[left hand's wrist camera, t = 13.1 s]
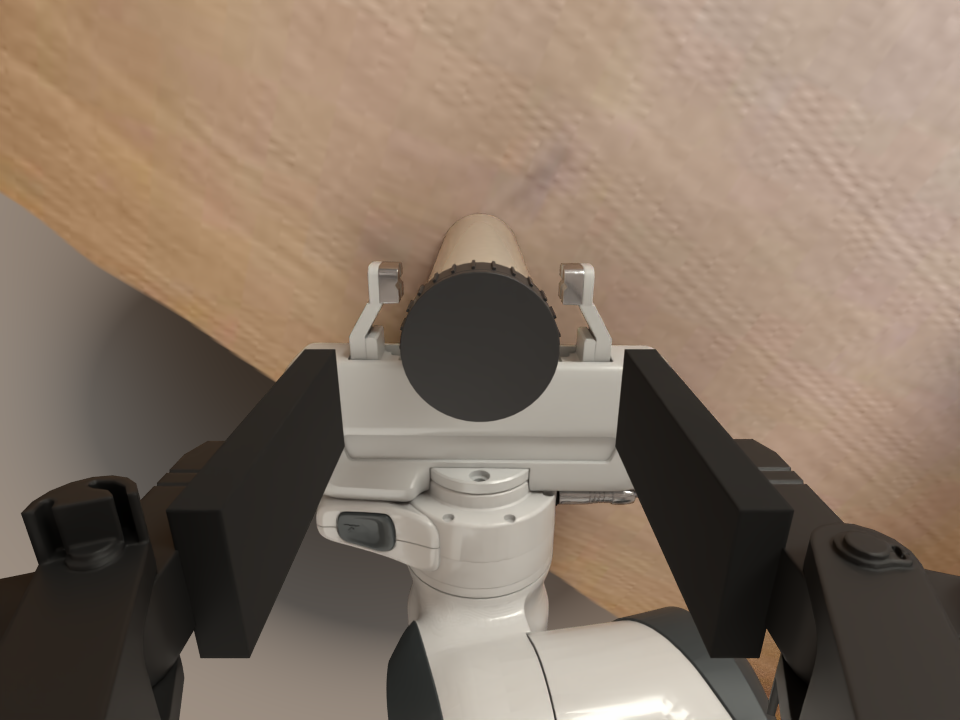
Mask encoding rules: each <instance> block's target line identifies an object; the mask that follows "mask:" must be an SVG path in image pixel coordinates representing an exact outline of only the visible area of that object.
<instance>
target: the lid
mask: <svg viewBox="0 0 960 720" xmlns="http://www.w3.org/2000/svg"><path fill="white" fill-rule="evenodd" d="M406 312H408V315H407V317H406V318H405V319H404V321H403V323H402V326H401V329H400V330H402V333H401V340H400V346H399V349H400V354H401V360H402V365H403V368H404V371H405V374H406V376H407V378H408V380H409V382H410V384H411V386H412V387H413V388H414V390H415V391H416V393H417V394H418V395H419V396H420V397H421V398H422V399H423V400H424V401H425V402H426V403H428V404H429V405H430V406H431V407H433V408H434V409H436V410H437V411H439V412H441V413H443V414H445V415H447V416H450V417H453V418H455V419H459V420H464V421H470V422H490V421H497V420H501V419H505V418H507V417H510V416H513V415H515V414H517V413H519V412H521V411H523V410H524V409H526V408H527V407H529V406H530V405H531V404H533V403H534V402H535V401H536V400H537V399H538V398H539V397H540V396H541V395H542V394H543V392H544V391H545V390H546V388H547V387H548V385H549V384H550V382H551V380H552V378H553V376H554V374H555V371H556V368H557V365H558V360H559V356H560V340H559V337H561V336H560V332H559V330H558V327H557V325H556V322H555V320H554V319H555V318H556V315H555V313H554V311H553V308H552V306H551V307H549V306H548V303H547V298H546V296H545V294H544V292H543V290H541V291H539V289H538V288H537V287H536V286H535V285H534V284H533V282H532V280H531V278H530V277H529V276H528V277H527V278H526V277H525V276H524V275H522V274H520V273H519V272H517V271H515V268H514V267H512V266H511V268H508V267H506V266H503V265H499V264H496V263H495V261H492V263H488V262H475V260H472V263H465V264H461V265H457V266H456V264H453V265H452V268H449V269H447V270H445V271H443V272H441V273H440V274H438V272H437V273H435V275H434V277H433V279H431V280H430V281H429V282H428V283H427V284H426V285H425V286H423V285H422V286H421V287H420V289H419V291H418V294H417V296H416V298H415V300H414V301H412V300H411V302H410V304H409V306H408V308H407V311H406Z"/></svg>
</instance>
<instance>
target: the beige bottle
mask: <svg viewBox="0 0 960 720" xmlns="http://www.w3.org/2000/svg"><path fill="white" fill-rule="evenodd" d="M472 260H475V262H488V263H492V261H495V263H496V264H499V265H503V266H506V267H508V268H511V266H512V267H514V268H515V271H517V272H519V273H520V274H522V275H524V276H525V277H526V278H527V277H528V276H529V277H530V274H529V272H528V269H527V267H526V264H525V261H524V259H523V256H522V254H521V251H520V248H519V246H518V243H517V241H516V238H515V236H514V234H513V232H512V230H511V229H510V228H509V227H508V226H507V225H506V224H505V223H504V222H503V221H502V220H500V219H498V218H497V217H494V216H491V215H488V214H472V215H469V216H466V217H464V218H462V219H460V220H458V221H457V222H456V223H455V224H453V226H452V227H451V228H450V229H449V230H448V232H447V234H446V236H445V238H444V241H443V243H442V246H441V248H440V251H439V254H438V256H437V259H436V261H435V264H434V266H433V269H432V272H431V274H430V277H429V279H428V282H429V281H430V280H431V279H433V277H434V275H435V273H437V272H438V274H440V273H441V272H443V271H445V270H447V269H449V268H452V265H453V264H456V266H457V265H461V264H465V263H472ZM530 278H531V277H530ZM531 280H532V279H531ZM428 282H427V283H428Z"/></svg>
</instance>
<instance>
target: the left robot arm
mask: <svg viewBox="0 0 960 720" xmlns="http://www.w3.org/2000/svg"><path fill="white" fill-rule="evenodd" d="M344 447H345V443H344V432H343V422H342V412H341V401H340V391H339V381H338V371H337V360H336V350H335V349H304V350H303V352H302V353H301V354H300V355H299V356H298V357H297V359H296V360H295V361H294V362H293V363H292V364H291V366H290V367H289V368H288V369H287V370H286V371H285V372H284V374H283V375H282V376H281V377H280V378H279V379H278V381H277V382H276V383H275V384H274V385H273V386H272V388H271V389H270V390H269V391H268V392H267V393H266V394H265V396H264V397H263V398H262V399H261V400H260V401H259V403H258V404H257V405H256V406H255V407H254V408H253V410H252V411H251V412H250V413H249V414H248V415H247V417H246V418H245V419H244V420H243V421H242V422H241V423H240V425H239V426H238V427H237V428H236V429H235V430H234V431H233V433H232V434H231V435H230V436H229V437H228V438H227V440H226V441H207V442H205V443H203V444H202V445H200V446H198V447H196V448H195V449H193V450H191V451H190V452H188V453H186V454H184V456H182V458H181V459H180V460H179V461H178V462H177V463H176V464H175V465H174V466H173V467H172V468H171V469H170V472H169V473H166V474H165V475H164V476H163V477H162V478H161V479H160V480H159V482H158V483H157V486H154V487H153V488H152V489H151V490H150V491H149V492H148V493H147V494H146V495H145V496H144V497H143V498H142V499H141V500H140V497H139V493H138V489H137V485H136V483H135V482H133V481H132V480H130V479H129V478H127V477H120V476H113V475H112V476H100V477H91V478H87V479H83V480H79V481H75V482H71V483H69V484H66V485H64V486H61V487H59V488H56V489H54V490H51V491H49V492H47V493H46V494H44V495H42V496H41V497H39V498H38V499H36V500H34V501H33V502H32V503H31V504H30V505H29V506H28V507H27V508H26V509H25V510H24V511H23V512H22V513H21V515H22V518H23V521H24V523H25V526H26V529H27V532H28V535H29V538H30V541H31V544H32V546H33V549H34V552H35V555H36V558H37V561H38V564H39V565H38V567H37V569H36V571H35V572H33V573H28V574H23V575H18V576H13V577H8V578H3V579H0V720H179V716H180V708H181V700H182V692H183V684H184V673H183V666H182V662H181V658H180V653H181V651H182V649H183V648H184V646H185V644H186V643H187V641H188V639H189V638H190V636H191V634H192V633H193V631H194V632H195V637H196V641H197V645H198V649H199V654H200V658H250V656H251V654H252V652H253V649H254V647H255V645H256V643H257V640H258V638H259V636H260V634H261V631H262V629H263V627H264V625H265V623H266V620H267V618H268V616H269V614H270V612H271V609H272V607H273V605H274V603H275V600H276V598H277V596H278V594H279V592H280V589H281V587H282V585H283V583H284V580H285V578H286V576H287V574H288V572H289V569H290V567H291V565H292V563H293V560H294V558H295V556H296V554H297V552H298V549H299V547H300V545H301V543H302V540H303V538H304V536H305V534H306V532H307V529H308V527H309V525H310V523H311V520H312V518H313V516H314V514H315V512H316V509H317V507H318V505H319V503H320V501H321V498H322V496H323V494H324V492H325V489H326V487H327V485H328V483H329V481H330V478H331V476H332V474H333V472H334V469H335V467H336V465H337V463H338V461H339V458H340V456H341V454H342V452H343V449H344ZM615 447H616V449H617V452H618V454H619V456H620V458H621V461H622V463H623V465H624V467H625V469H626V472H627V474H628V476H629V478H630V481H631V483H632V485H633V487H634V489H635V492H636V494H637V496H638V498H639V501H640V503H641V505H642V507H643V509H644V512H645V514H646V516H647V518H648V521H649V523H650V525H651V527H652V529H653V532H654V534H655V536H656V538H657V540H658V543H659V545H660V547H661V549H662V552H663V554H664V556H665V558H666V560H667V563H668V565H669V567H670V569H671V572H672V574H673V576H674V578H675V580H676V583H677V585H678V587H679V589H680V592H681V594H682V596H683V598H684V600H685V603H686V605H687V607H688V609H689V612H690V614H691V616H692V618H693V620H694V623H695V625H696V627H697V629H698V632H699V634H700V636H701V638H702V640H703V643H704V645H705V647H706V649H707V652H708V654H709V656H710V658H760V654H761V649H762V645H763V641H764V637H765V632H766V628H767V630H768V631H769V633H770V635H771V636H772V638H773V640H774V641H775V643H776V645H777V646H778V648H779V650H780V652H781V654H780V658H779V662H778V666H777V670H776V674H775V678H774V682H773V686H772V690H771V694H770V698H769V702H768V708H767V714H768V715H771V716H774V717H775V713H776V709H777V706H778V704H779V707H780V715H781V720H960V576H955V575H950V574H945V573H940V572H935V571H930V570H926V569H924V568H923V566H922V564H921V563H920V562H919V560H918V559H917V558H916V557H915V555H914V554H913V553H912V552H911V551H910V550H909V549H907V548H906V547H904V546H903V545H902V544H900V543H899V542H897V541H896V540H895V539H892V538H890V537H888V536H886V535H884V534H882V533H880V532H877V531H875V530H872V529H869V528H865V527H862V526H858V525H855V524H846V523H844V522H843V521H842V520H841V519H840V518H839V517H838V516H837V515H836V514H835V513H834V512H833V511H832V510H831V509H830V508H829V507H828V506H827V505H826V504H825V503H824V502H823V501H822V500H821V499H820V498H819V497H818V496H817V494H816V493H815V492H814V491H813V490H812V489H811V488H810V487H809V486H808V485H807V484H804V483H803V480H802V479H801V478H800V477H799V476H798V475H797V474H796V473H795V472H794V471H791V468H790V467H789V466H788V464H787V463H786V462H785V461H784V460H783V459H782V458H781V457H780V456H779V455H778V454H777V453H776V452H774V451H772V450H771V449H769V448H767V447H765V446H764V445H762V444H760V443H758V442H757V441H755V440H753V439H733V438H732V437H731V436H730V435H729V434H728V433H727V431H726V430H725V429H724V428H723V427H722V426H721V425H720V423H719V422H718V421H717V420H716V419H715V418H714V416H713V415H712V414H711V413H710V412H709V411H708V410H707V408H706V407H705V406H704V405H703V404H702V403H701V401H700V400H699V399H698V398H697V397H696V396H695V394H694V393H693V392H692V391H691V390H690V389H689V388H688V386H687V385H686V384H685V383H684V382H683V381H682V379H681V378H680V377H679V376H678V375H677V374H676V372H675V371H674V370H673V369H672V368H671V367H670V366H669V364H668V363H667V362H666V361H665V360H664V359H663V357H662V356H661V355H660V354H659V353H658V352H657V350H656V349H625V350H624V360H623V371H622V381H621V391H620V401H619V412H618V422H617V432H616V443H615Z"/></svg>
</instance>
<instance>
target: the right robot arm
mask: <svg viewBox="0 0 960 720" xmlns="http://www.w3.org/2000/svg"><path fill="white" fill-rule="evenodd" d="M402 274H403V268H402V262H382V261H375V262H372V263H371V264H370V265H369V267H368V288H369V301H368V303H367V304H366V306H365V308H364V310H363V312H362V314H361V316H360V317H359V319H358V321H357V323H356V325H355V327H354V329H353V331H352V332H351V334H350V336H349V342H350V343H311V344H309V345H307V346H306V347H305V348H304V349H335V350H336V360H337V371H338V381H339V391H340V401H341V412H342V422H343V432H344V443H345V447H344V449H343V452H342V454H341V456H340V458H339V461H338V463H337V465H336V467H335V469H334V472H333V474H332V476H331V478H330V481H329V483H328V485H327V487H326V489H325V492H324V494H323V496H322V498H321V501H320V503H319V505H318V509H317V514H316V522H317V528H318V531H319V533H320V534H321V535H322V536H323V537H325V538H327V539H329V540H331V541H335V542H338V543H342V544H346V545H349V546H353V547H357V548H360V549H364V550H367V551H370V552H374V553H377V554H380V555H383V556H386V557H389V558H392V559H394V560H397V561H400V562H402V563H404V564H407V566H408V569H409V571H410V574H411V576H412V579H413V583H412V586H411V589H410V593H409V597H408V627H407V629H406V630H405V632H404V633H403V635H402V637H401V638H400V640H399V642H398V644H397V646H396V648H395V650H394V652H393V654H392V656H391V658H390V660H389V663H388V670H387V710H388V720H777V719H776V717H774V716H771V715H768V714H767V708H768V702H769V700H768V698H767V696H766V693H765V691H764V689H763V687H762V685H761V683H760V681H759V679H758V677H757V675H756V673H755V672H754V670H753V668H752V666H751V665H750V663H749V662H748V660H747V659H746V658H710V656H709V654H708V652H707V649H706V647H705V645H704V643H703V640H702V638H701V636H700V634H699V632H698V629H697V627H696V625H695V623H694V620H693V618H692V616H691V614H690V612H688V611H686V610H684V609H682V608H678V607H665V608H661V609H657V610H653V611H648V612H644V613H640V614H636V615H631V616H627V617H623V618H618V619H616V620H614V621H612V622H608V623H600V624H593V625H586V626H578V627H571V628H564V629H556V630H549V631H547V627H548V615H549V603H548V596H547V592H546V589H545V585H544V580H545V578H546V576H547V574H548V571H549V569H550V565H551V561H552V554H553V541H554V526H555V506H557V504H592V503H598V502H599V503H611V504H614V505H625V504H631V503H634V501H635V498H637V497H638V496H637V494H636V492H635V490H634V487H633V485H632V483H631V481H630V478H629V476H628V474H627V472H626V469H625V467H624V465H623V463H622V461H621V458H620V456H619V454H618V452H617V449H616V447H615V443H616V432H617V422H618V412H619V401H620V391H621V381H622V371H623V360H624V350H625V349H654V348H652V347H650V346H635V345H612V338H611V336H610V334H609V332H608V330H607V328H606V326H605V324H604V322H603V320H602V319H601V317H600V315H599V313H598V311H597V309H596V307H595V305H594V303H593V290H594V278H595V274H594V267H593V266H592V265H591V264H590V263H561V265H560V274H559V275H560V276H561V278H562V280H561V281H560V283H559V292H558V296H559V298H560V299H561V302H562V304H564V305H578V306H579V308H580V310H581V312H582V314H583V316H584V318H585V320H586V322H587V324H588V326H589V329H588V328H587V327H579V328H578V331H577V342H576V345H560V356H559V360H558V365H557V368H556V371H555V374H554V376H553V378H552V380H551V382H550V384H549V385H548V387H547V388H546V390H545V391H544V392H543V394H542V395H541V396H540V397H539V398H538V399H537V400H536V401H535V402H534V403H533V404H531V405H530V406H529V407H527V408H526V409H524V410H523V411H521V412H519V413H517V414H515V415H513V416H510V417H507V418H505V419H501V420H497V421H490V422H470V421H464V420H459V419H455V418H453V417H450V416H447V415H445V414H443V413H441V412H439V411H437V410H436V409H434V408H433V407H431V406H430V405H429V404H428V403H426V402H425V401H424V400H423V399H422V398H421V397H420V396H419V395H418V394H417V393H416V391H415V390H414V388H413V387H412V386H411V384H410V382H409V380H408V378H407V376H406V374H405V371H404V368H403V365H402V360H401V354H400V349H399V346H400V343H385V341H384V327H383V326H382V325H375V326H374V327H373V325H372V324H373V323H374V321H375V319H376V317H377V315H378V313H379V311H380V310H381V308H382V306H383V304H384V303H399V302H400V300H401V298H402V296H403V294H404V293H403V281H402V280H401V278H400V277H401V275H402ZM304 349H303V350H304ZM303 350H302V351H301V352H300V353H299V354H298V355H296V356H295V358H294V359H293V360H292V361H291V363H290V364H289V365H288V367H287V368H286V370H287V369H288V368H289V367H290V366H291V364H292V363H293V362H294V361H295V360H296V359H297V357H298V356H299V355H300V354H301V353H302V352H303ZM663 359H664V358H663ZM664 360H665V359H664ZM665 361H666V360H665ZM666 362H667V361H666ZM667 363H668V362H667ZM669 366H670V365H669ZM670 367H671V366H670ZM286 370H285V371H286Z"/></svg>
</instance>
